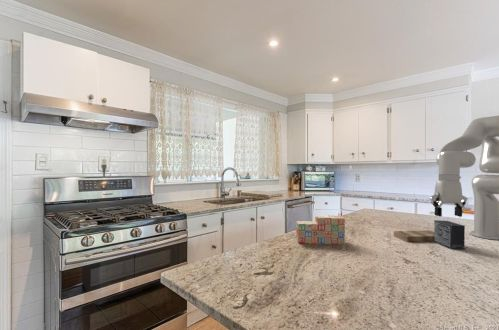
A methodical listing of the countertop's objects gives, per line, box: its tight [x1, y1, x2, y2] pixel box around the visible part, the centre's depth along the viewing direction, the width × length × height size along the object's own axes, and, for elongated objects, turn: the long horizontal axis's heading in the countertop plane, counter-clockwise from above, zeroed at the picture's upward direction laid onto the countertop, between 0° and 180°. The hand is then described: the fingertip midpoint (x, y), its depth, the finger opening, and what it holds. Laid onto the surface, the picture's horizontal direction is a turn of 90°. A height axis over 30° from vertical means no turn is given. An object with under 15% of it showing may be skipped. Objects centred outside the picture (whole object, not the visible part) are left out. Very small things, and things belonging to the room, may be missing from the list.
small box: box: [433, 219, 466, 250], centre depth 114 cm, size 11×6×10 cm, turn 179°
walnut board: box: [393, 230, 435, 243], centre depth 124 cm, size 20×10×3 cm, turn 94°
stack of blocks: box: [296, 214, 346, 245], centre depth 119 cm, size 21×6×12 cm, turn 87°
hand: (448, 216), depth 113 cm, fingers open, 9 cm apart
